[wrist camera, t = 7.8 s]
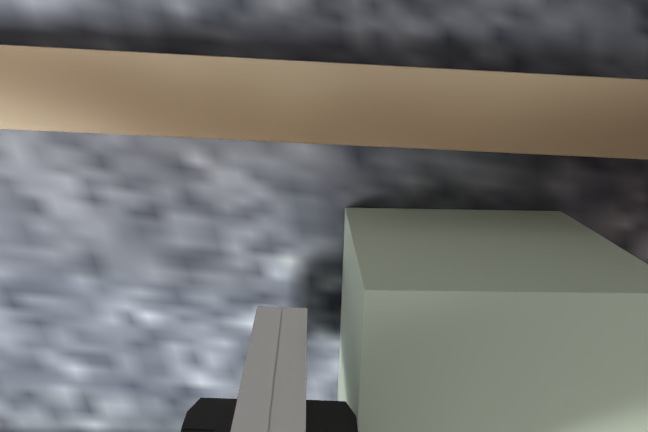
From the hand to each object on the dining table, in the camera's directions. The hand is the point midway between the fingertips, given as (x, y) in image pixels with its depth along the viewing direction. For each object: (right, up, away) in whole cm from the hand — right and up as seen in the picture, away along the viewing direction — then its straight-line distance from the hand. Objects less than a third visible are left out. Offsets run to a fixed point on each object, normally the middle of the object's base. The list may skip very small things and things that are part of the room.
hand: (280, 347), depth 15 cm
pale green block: (+5, +1, +2) cm, 6 cm away
